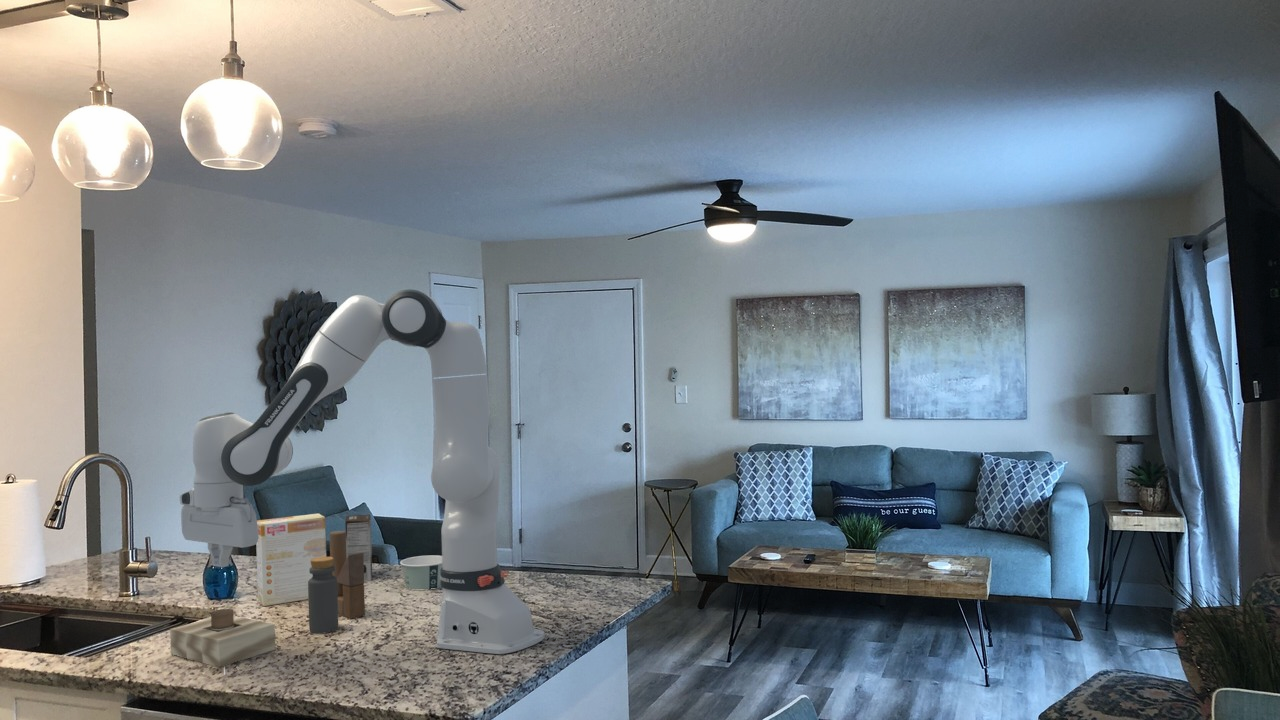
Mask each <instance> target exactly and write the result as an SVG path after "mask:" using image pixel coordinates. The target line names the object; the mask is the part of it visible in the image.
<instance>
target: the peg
mask: <svg viewBox="0 0 1280 720" xmlns="http://www.w3.org/2000/svg"><path fill="white" fill-rule="evenodd" d="M233 616H234V609H232V608H224V609H223V608H221V609H217V610H213V611H212V612H210V618H211V630H212V631H217V632H220V631H223V630H227V629H230V628H234V617H233Z"/></svg>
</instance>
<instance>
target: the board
mask: <svg viewBox="0 0 1280 720" xmlns="http://www.w3.org/2000/svg"><path fill="white" fill-rule="evenodd" d="M233 617H234V628H230V629H227V630H223V631H220V632H217V631H212V630H211V617H210V618H207V619H203V620H199V621H195V622H191V623H188V624H185V625H181V626H178V627H173V628H170V629H169V633H170V634H169V635H170V637H169V638H170V655H171V654H174V655H177V656H176V657H178V656H180V657H179V658H182V657H184V658H183V659H186V658H187V659H186V660H190V661H193V660H194V662H197V661H198V663H201V662H202V664H205V663H206V665H209V666H214V667H217V668H221V667H224V666H228V665H230V664H231V665H232V664H234V662H235V663H237V661H238V662H241V661H244V660H247V659H249V658H253V657H256V656H260V655H262V654H263V655H264V654H266V653H269V652H273V651H275V650H276V628H275V627H276V626H275V624H274V623H270V622H265V621H262V620H256V619H250V618H247V617H241V616H236V615H233ZM268 651H269V652H268ZM174 655H173V656H174ZM243 659H244V660H243ZM240 660H241V661H240Z"/></svg>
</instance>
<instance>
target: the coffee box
mask: <svg viewBox="0 0 1280 720" xmlns="http://www.w3.org/2000/svg"><path fill="white" fill-rule="evenodd" d="M344 524H345V528H344V529H345V530H344V531H345V532H346V554H347V557H348V555H351V554H357V553H363V559H364V583H367V582H372V580H373V558H372V557H373V555H372V554H373V552H372V551H373V549H372V548H373V547H372V521H371V514H349V515H345V523H344Z"/></svg>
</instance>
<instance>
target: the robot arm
mask: <svg viewBox="0 0 1280 720" xmlns="http://www.w3.org/2000/svg"><path fill="white" fill-rule="evenodd" d="M388 340H392V341H395V342H398V343H399V344H400V345H401V344H402V345H404V346H406V347H413V348H414V347H416V348H417V347H419V348H423V349H425V350H426V351H427V354H428V355H429V356H428V357H429V360H430V366H431V380H432V391H433V393H432V394H433V404H434V405H433V406H434V430H433V431H434V432H433V443H432V444H433V446H432V447H433V448H432V468H431V475H430V478H431V479H430V480H431V485H432V488H433V490H434V491H435V492H436V494H437V495H438V496H440V498H442V499H444V500H445V505H444V513H443V520H442V525H441V529H440V530H441V533H440V534H441V536H440V537H441V556H442V568H441V569H440V584H441V587H440V588H442V592H441V593H442V595H441V602H440V613H439V614H440V615H439V622H438V628H437V632H436V636H435V640H436V644H435V645H436V648H437V649H444V650H454V651H464V652H473V653H481V654H482V653H484V654H495V655H504V654H510V653H515V652H518V651H521V650H525V649H527V648H529V647H532V646H534V645H536V644H539V643H540V642H541V641H543V640H544V639H545V637H546V633H545V630H541V629H537V628H535V627H534V623H533V617H532V616H533V615H532V612H531V609H530V607H529V605H527V604H526V603H525V602H524V601H523V600H522V599H521V598H520V597H518V596H517V595H516V593H514V592H513V591H512V590H511V589H510V588H509V587H508V585H506V584H505V582H506V580H505V578H506V577H508V576H509V574H507V573H509V570H503V571H502V568H501V567H500V564H499V563H498V538H497V524H498V521H497V520H498V509H499V499H500V498H499V497H500V476H501V475H500V472H501V471H500V470H501V463H500V458H499V456H498V454H497V452H496V451H495V450H494V449H493V448H492V447H491V446H489V429H490V428H489V423H490V415H491V408H490V393H489V383H488V381H489V379H488V369H487V362H486V356H485V349H484V346H483V345H484V344H483V343H482V338H481V334H480V332H479V330H478V329H477V328H476V327H475V326H474V325H472V324H470V323H469V322H466V321H465V322H464V321H449V320H447V319H446V318H445V316H443V312H442V310H441V308H440V306H439V305H438V303H437V301H436V300H434V299H433V298H432V297H431V296H430V295H428V294H426V293H424V292H422V291H420V290H418V289H409V288H408V289H402V290H399V291H397V292H395V293H393V294H392V295H391V296H389V298H388V299H387V300H386V302H385V303H381V302H379V301H378V300H375V299H374V298H372V297H370V296H367V295H363V294H356V295H352V296H349V297H348V298H347V299H345V301H344V302H342V303H341V304H340V305H339V306H338V307H337V308H336V309H335V310H334V312H332V313H331V315H330V316H329V317H328V318H327V319H326V320H325V321H324V323H323V324H322V325H321V327H319V329H318V330H317V332H316V333H315V335H314V336H313V337H312V339H311V341H310V342H309V344H308V346H307V347H306V348H305V349H304V352H303V354H302V355H301V358H300V360H299V361H298V363H297V365H296V366H295V368H294V369H293V372H292V373H291V375H290V377H289V378H288V379H287V382H286V383H285V384H284V385H283V387H282V388H281V389H280V391H279V392H278V393H277V395H275V396H274V399H273V400H272V401H271V402H270V404H268V405H267V407H266V409H265V410H264V411H263V412H262V413H261V414H260V415H259V417H258V419H257V420H256V421H255V422H251V421H249V420H247V419H244V418H243V417H241V415H239V414H238V413H235V412H224V413H219V414H214V415H209V416H206V417H202V418H200V419H199V421H197V422H196V424H195V426H194V430H193V442H192V459H193V460H192V462H193V464H194V468H195V474H194V478H193V488H190V489H188V490H186V491H184V492H182V493H181V494H179V504H180V505H182V507H181V513H180V514H181V515H180V519H181V524H180V525H181V533H182V536H183V538H184V539H185V540H186V541H191V542H199V543H204V544H207V550H208V552H209V553H210V557H211V564H212V566H213V567H219V568H225V567H229V565H230V556H231V554H232V552H233V548H234V547H235V548H241V549H242V548H248V547H253V546H255V545H256V543H257V541H258V526H257V513H256V511H255V509H254V508H253V504H251V502H250V501H249V499H248V498H246V497H244V486H246V487H253V486H257V485H261V484H263V483H264V482H266V481H267V480H269V479H270V478H271V477H273V476H275V475H278V474H279V473H280V472H282V471H283V470H285V469H286V468H287V467H288V466H289V465H290V463H291V462H292V460H293V459H292V458H293V456H294V455H293V454H294V448H293V443H292V441H291V439H290V438H289V436H290V435H291V434H292V432H293V431H294V430H295V428H297V426H298V424H299V423H300V422H301V421H302V419H303V418H304V417H305V415H306V414H307V413H308V411H310V410H311V408H312V407H313V406H314V405H315V404H317V403H318V402H319V401H321V400H322V399H323V398H325V397H327V396H328V395H330V394H332V393H334V392H336V391H338V390H339V389H341V388H343V387H344V386H345V385H347V383H349V382H350V381H351V380H352V379H353V378H354V377H355V376H356V375H357V374H358V373H359V372H360V371H361V369H362V368H363V366H364V365H365V363H366V362H367V361H368V360H369V358H370V357H371V355H372V354H373V353H374V351H375V350H376V348H378V347H379V345H381V344H382V343H383V342H385V341H388Z"/></svg>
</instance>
